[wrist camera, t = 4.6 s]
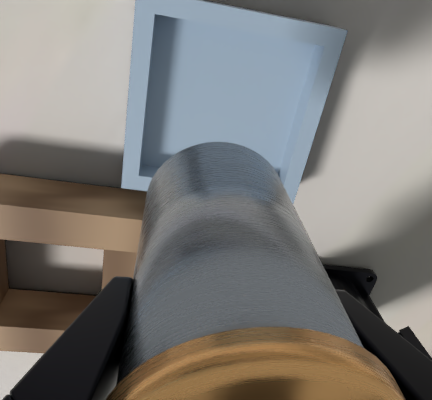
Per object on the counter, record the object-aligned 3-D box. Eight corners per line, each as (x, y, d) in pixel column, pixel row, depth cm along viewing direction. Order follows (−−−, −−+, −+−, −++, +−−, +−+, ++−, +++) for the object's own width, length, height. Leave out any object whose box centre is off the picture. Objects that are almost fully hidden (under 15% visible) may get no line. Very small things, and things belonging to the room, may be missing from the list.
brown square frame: (151, 192, 22) (147, 220, 20) (135, 321, 27) (131, 358, 24) (-42, 168, 21) (-75, 196, 18) (-23, 309, 25) (-46, 348, 23)
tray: (333, 26, 19) (347, 30, 17) (283, 193, 23) (291, 209, 21) (140, -13, 17) (136, -13, 16) (125, 172, 21) (121, 187, 20)
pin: (307, 144, 12) (490, 386, 5) (272, 271, 14) (362, 560, 7) (143, 126, 11) (80, 374, 4) (135, 262, 13) (85, 571, 6)
